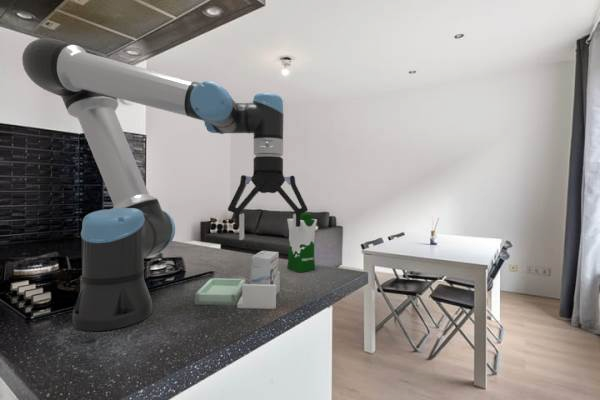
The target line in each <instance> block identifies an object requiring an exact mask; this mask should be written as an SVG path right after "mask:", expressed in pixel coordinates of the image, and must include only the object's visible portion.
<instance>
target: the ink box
mask: <svg viewBox="0 0 600 400" xmlns="http://www.w3.org/2000/svg"><path fill="white" fill-rule="evenodd" d="M279 255H280V253H279V251H271V250H270V251H268V250H261V251H259V252H257V253H256V254H254V255H252V257H251V269H250V279H251V284H273V285H276V295H277V294H278V292H277V286H278V271H279Z"/></svg>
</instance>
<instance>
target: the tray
mask: <svg viewBox="0 0 600 400" xmlns="http://www.w3.org/2000/svg"><path fill="white" fill-rule="evenodd" d="M243 284H246V278H220V277H219V278H214V277H213V278H212V277H211V278H210V279H209V280H208V281H206V282H205V284H204V285H203V286H201V287H200V289H198V290H197V292H195V293H194V305H197V306H198V305H203V306H236V305H237V303H238V302H239V300H240V298H241V296H242V285H243Z"/></svg>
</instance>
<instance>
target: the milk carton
mask: <svg viewBox="0 0 600 400" xmlns="http://www.w3.org/2000/svg"><path fill="white" fill-rule="evenodd" d="M286 220H287V226H288V258H287V259H288V260H287V267H286V268H287V270H291V271H293V272H297V273H299V274H300V273H305V272H311V271H315V269H316V266H315V243H316V242H315V241H316V240H315V237H316V236H315V234H316V233H315V232H316V227H317V222H318V219H315V218H312V213H307V212H304V213H302V214H301V216H300V227H296V240H293V218H286Z"/></svg>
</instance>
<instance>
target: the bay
mask: <svg viewBox="0 0 600 400" xmlns="http://www.w3.org/2000/svg"><path fill="white" fill-rule="evenodd" d="M280 273H281V272H280V271H279V270H278V286H277V293H280V282H281V281H280V279H281V277H280V276H281V275H280ZM236 305H237V307H236V308H237V309H261V310H262V309H266V310H268V309H269V310H270V309H272V310H275V309H277V294H276V285H273V284H251V278H250V283H245V284H243V285H242V294H241V296H240V298H239V300H238V302H237V303H236Z"/></svg>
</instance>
